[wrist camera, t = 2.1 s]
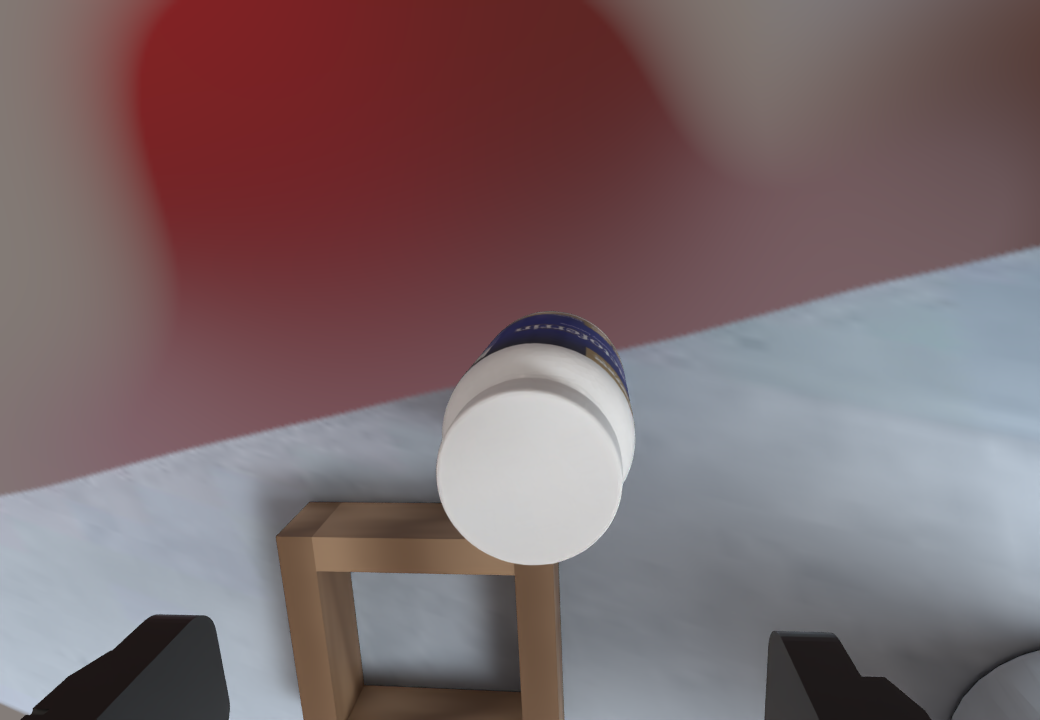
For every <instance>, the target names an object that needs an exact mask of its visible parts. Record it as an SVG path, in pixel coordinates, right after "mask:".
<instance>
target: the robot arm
mask: <svg viewBox="0 0 1040 720" xmlns="http://www.w3.org/2000/svg"><path fill="white" fill-rule="evenodd" d="M229 712H230V702H229V696H228V691H227V685H226V680H225V675H224V670H223V664H222V659H221V654H220V648H219V643H218V638H217V633H216V628H215V625H214V623H213V621H212V620H211V619H210V618H209V617H208V616H202V615H161V614H160V615H153V616H151V617H149V618H147V619H146V620H145V621H144V622H143V623H142V624H140V625H139V626H138V627H137V628H136V629H135V630H134V631H133V632H132V633H131V634H130V635H129V636H128V637H126V638H125V639H124V640H123V641H122V642H121V643H120V644H119V645H118V646H117V647H116V648H115V649H114V650H112V651H109V652H108V653H106V654H104V655H103V656H101V657H99V658H98V659H96V660H95V661H93V662H91V663H90V664H88V665H86V666H85V667H83V668H82V669H80V670H78V671H77V672H75V673H73V674H72V675H70V676H68V677H67V678H66V679H65V680H64V681H63V682H62V683H61V684H59V685H58V686H57V687H56V688H55V689H54V690H53V691H52V692H51V693H49V694H48V695H47V696H46V697H45V698H44V699H43V700H42V701H41V702H39V703H38V704H37V705H36V706H35V707H34V708H33V712H32V714H31V715H25V716H24V717H23V718H22V719H21V720H229ZM765 720H931V719H930V717H929V716H928V714H927V713H926V711H925V710H923V709H922V708H921V707H920V706H919V705H917V704H916V703H915V702H914V701H913V700H911V699H910V698H909V697H908V696H907V695H905V694H904V693H903V692H902V691H901V690H899V689H898V688H897V687H896V686H895V685H893V684H892V683H891V682H890V681H889V680H887V679H886V678H885V677H861V675H860V674H859V672H858V670H857V669H856V667H855V665H854V664H853V662H852V660H851V659H850V657H849V655H848V654H847V652H846V650H845V649H844V647H843V645H842V644H841V642H840V641H839V639H838V638H837V637H836V636H835V635H834V634H833V633H826V632H786V631H773V632H772V633H771V635H770V639H769V646H768V664H767V683H766V701H765ZM952 720H1040V650H1039V651H1035V652H1032V653H1028V654H1025V655H1022V656H1019V657H1017V658H1015V659H1013V660H1011V661H1009V662H1007V663H1005V664H1002V665H1000V666H998V667H997V668H995V669H994V670H993V671H991V672H990V673H988V674H987V675H986V676H984V677H983V678H982V679H980V680H979V681H978V682H977V683H976V684H975V685H974V686H973V687H972V688H971V689H970V690H969V692H968V693H967V694H966V695H965V696H964V697H963V698H962V700H961V702H960V704H959V706H958V707H957V709H956V711H955V713H954V714H953V716H952Z"/></svg>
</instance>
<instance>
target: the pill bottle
mask: <svg viewBox="0 0 1040 720" xmlns="http://www.w3.org/2000/svg"><path fill="white" fill-rule="evenodd" d="M634 450H635V426H634V419H633V414H632V409H631V404H630V400H629V394H628V389H627V385H626V380H625V375H624V370H623V366H622V363H621V360H620V357H619V355H618V353H617V351H616V349H615V347H614V346H613V344H612V343H611V341H610V340H609V339H608V337H607V336H606V335H605V334H604V333H603V332H602V331H601V330H600V329H598V327H596V326H595V325H594V324H592V323H590V322H589V321H587V320H585V319H583V318H581V317H579V316H576V315H572V314H569V313H564V312H556V311H546V312H537V313H534V314H530V315H527V316H524V317H522V318H520V319H518V320H516V321H514V322H513V323H511V324H510V325H509V326H507V327H506V328H505V329H504V330H502V331H501V332H500V333H499V334H498V335H497V336H496V338H495V339H494V340H493V341H492V342H491V343H490V345H489V346H488V347H487V348H486V350H485V351H484V352H483V353H482V354H481V356H480V357H479V358H478V359H477V360H476V362H475V363H474V364H473V365H472V366H471V368H470V369H469V370H468V371H467V372H466V373H465V375H464V376H463V377H462V378H461V380H460V381H459V383H458V384H457V386H456V387H455V389H454V391H453V393H452V395H451V397H450V399H449V402H448V404H447V407H446V410H445V415H444V419H443V427H442V442H441V445H440V448H439V452H438V457H437V465H436V479H437V487H438V493H439V497H440V500H441V503H442V505H443V508H444V510H445V512H446V514H447V516H448V518H449V519H450V521H451V522H452V524H453V525H454V527H455V528H456V529H457V530H458V531H459V533H460V534H461V535H462V536H463V537H464V538H465V539H466V540H468V541H469V542H470V543H471V544H472V545H474V546H475V547H477V548H478V549H479V550H481V551H483V552H485V553H486V554H488V555H490V556H493V557H495V558H497V559H500V560H503V561H506V562H510V563H516V564H522V565H545V564H554V563H557V562H560V561H564V560H567V559H569V558H571V557H574V556H576V555H578V554H580V553H581V552H583V551H585V550H586V549H588V548H589V547H590V546H591V545H593V544H594V543H595V542H596V541H597V540H598V539H599V538H600V537H601V536H602V535H603V534H604V533H605V531H606V530H607V529H608V527H609V526H610V524H611V522H612V521H613V519H614V517H615V515H616V512H617V510H618V507H619V504H620V500H621V496H622V488H623V483H624V481H625V480H626V478H627V475H628V473H629V471H630V467H631V464H632V461H633V456H634Z"/></svg>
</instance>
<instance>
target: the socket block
mask: <svg viewBox="0 0 1040 720" xmlns="http://www.w3.org/2000/svg"><path fill="white" fill-rule="evenodd" d="M276 542H277V548H278V555H279V561H280V568H281V574H282V581H283V588H284V594H285V601H286V607H287V614H288V620H289V627H290V633H291V640H292V647H293V653H294V660H295V666H296V673H297V679H298V686H299V692H300V699H301V706H302V712H303V719H304V720H564V700H563V672H562V645H561V617H560V590H559V562H557V563H554V564H545V565H522V564H516V563H510V562H506V561H503V560H500V559H497V558H495V557H493V556H490V555H488V554H486V553H485V552H483V551H481V550H479V549H478V548H477V547H475V546H474V545H472V544H471V543H470V542H469V541H468V540H466V539H465V538H464V537H463V536H462V535H461V534H460V533H459V531H458V530H457V529H456V528H455V527H454V525H453V524H452V522H451V521H450V519H449V518H448V516H447V514H446V512H445V510H444V508H443V505H442V503H363V502H309V503H308V504H307V505H306V506H305V507H304V508H303V509H302V510H301V511H300V512H299V513H298V514H297V515H296V516H295V517H294V518H293V519H292V520H291V521H290V523H289V524H288V525H287V526H286V527H285V528H284V529H283V530H282V531H281V532H280V533H279V534H278V535H277V536H276ZM350 572H380V573H426V574H472V575H515V592H516V610H517V628H518V646H519V664H520V683H521V692H507V691H484V690H462V689H440V688H417V687H395V686H373V685H364V679H363V670H362V662H361V654H360V646H359V638H358V630H357V622H356V614H355V606H354V598H353V590H352V581H351V573H350Z"/></svg>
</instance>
